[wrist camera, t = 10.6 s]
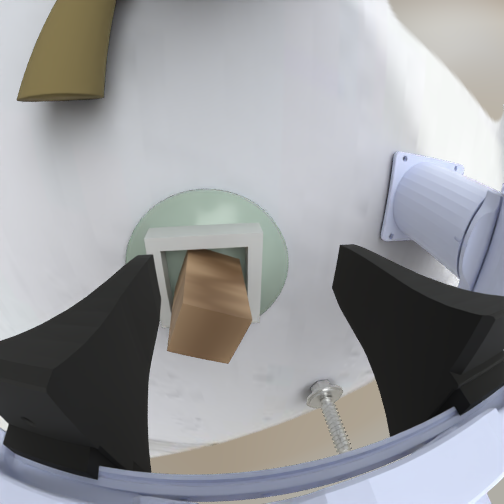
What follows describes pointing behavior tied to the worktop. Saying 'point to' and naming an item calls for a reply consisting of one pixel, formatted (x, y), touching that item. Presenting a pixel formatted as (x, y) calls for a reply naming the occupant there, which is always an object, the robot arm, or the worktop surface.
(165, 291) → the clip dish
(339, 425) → the screw
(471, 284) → the robot arm
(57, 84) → the olive cylinder
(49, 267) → the worktop surface
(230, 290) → the brown tall block
